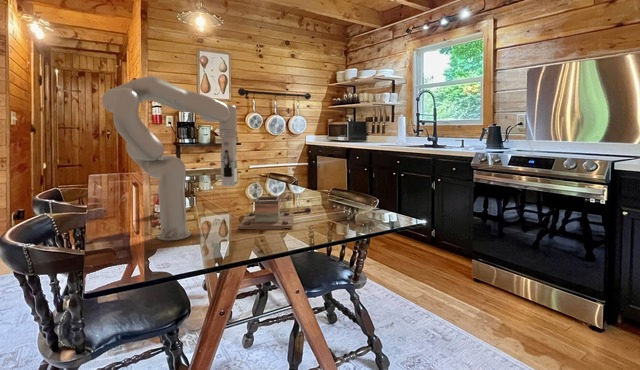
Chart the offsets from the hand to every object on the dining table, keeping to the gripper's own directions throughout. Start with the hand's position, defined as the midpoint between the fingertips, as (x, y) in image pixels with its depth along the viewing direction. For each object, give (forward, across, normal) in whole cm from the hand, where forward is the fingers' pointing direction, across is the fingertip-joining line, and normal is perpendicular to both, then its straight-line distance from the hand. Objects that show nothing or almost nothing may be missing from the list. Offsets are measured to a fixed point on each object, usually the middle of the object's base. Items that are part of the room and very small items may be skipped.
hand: (229, 175), depth 172 cm
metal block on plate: (+21, 0, -16) cm, 27 cm away
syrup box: (+5, 0, 0) cm, 5 cm away
